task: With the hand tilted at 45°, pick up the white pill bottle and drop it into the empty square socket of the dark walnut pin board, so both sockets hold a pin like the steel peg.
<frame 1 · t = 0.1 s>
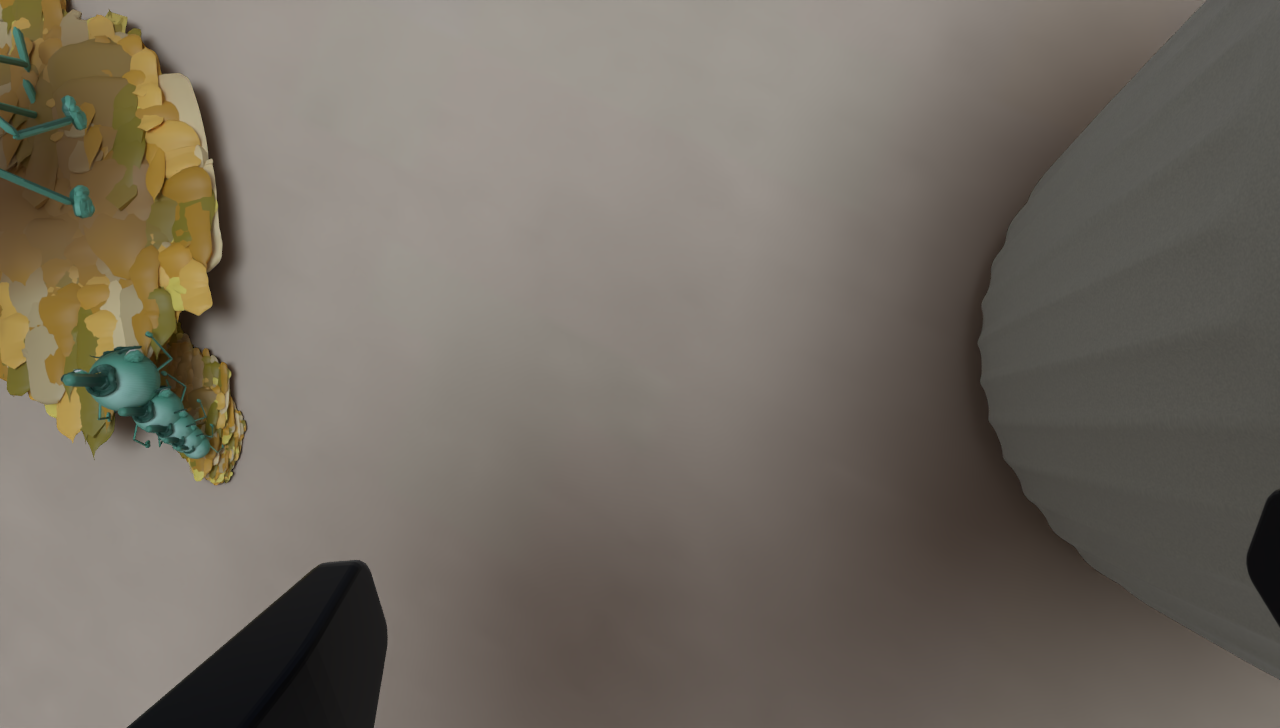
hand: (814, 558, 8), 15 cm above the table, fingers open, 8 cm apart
canister: (1183, 364, 23), on the table, touching gripper
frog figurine: (87, 228, 24), on the table
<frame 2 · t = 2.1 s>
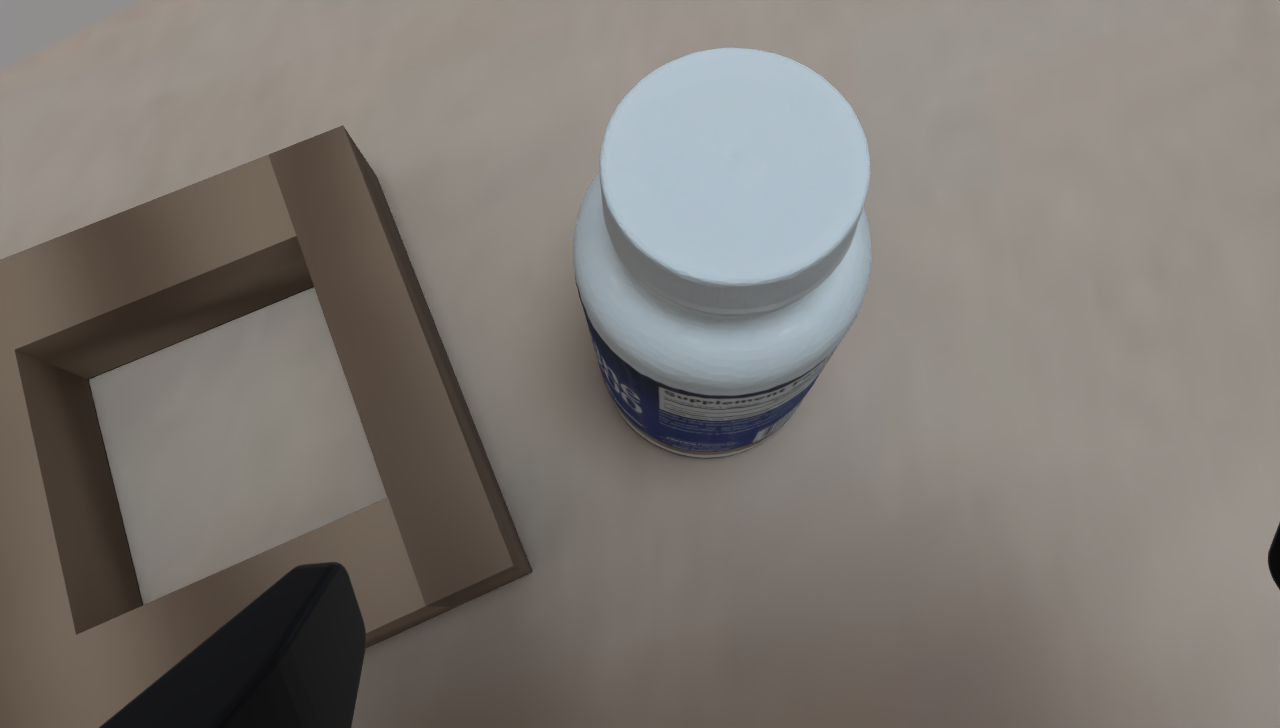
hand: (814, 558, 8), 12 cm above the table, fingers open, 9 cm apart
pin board: (19, 540, 20), on the table
pill bottle: (703, 363, 21), on the table
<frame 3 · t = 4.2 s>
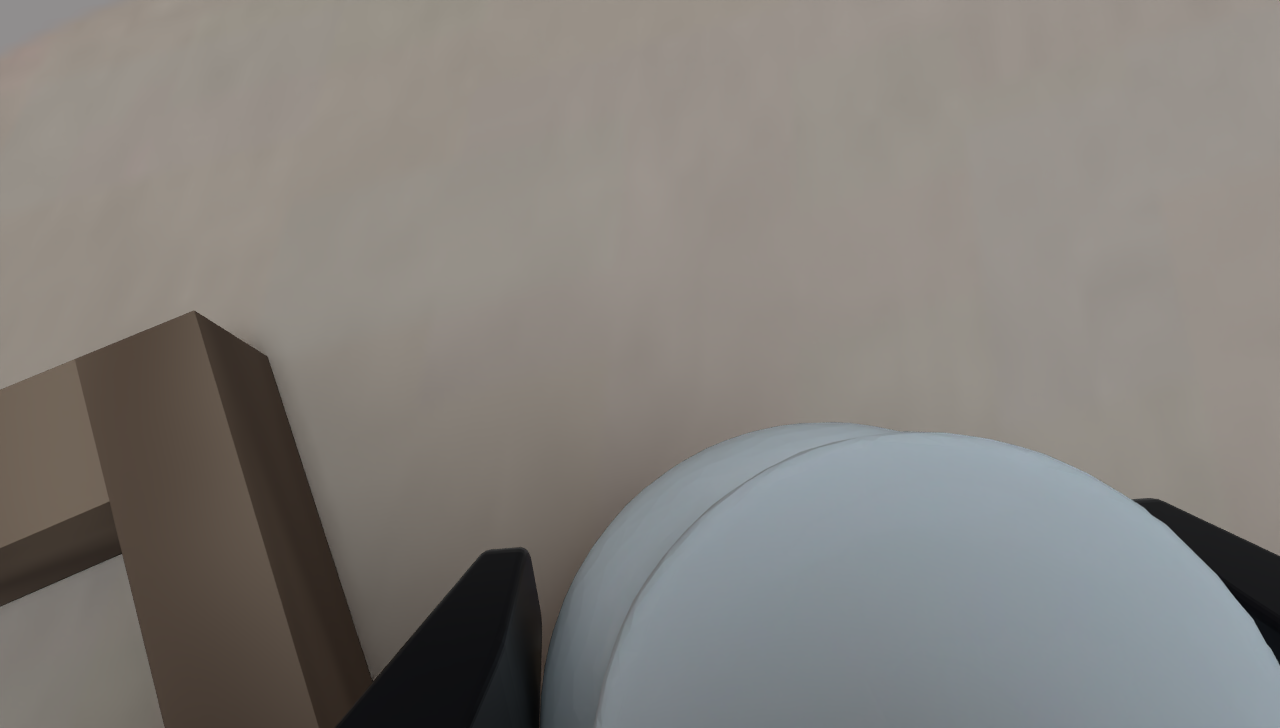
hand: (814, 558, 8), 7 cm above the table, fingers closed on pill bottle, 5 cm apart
pill bottle: (755, 665, 14), on the table, touching gripper
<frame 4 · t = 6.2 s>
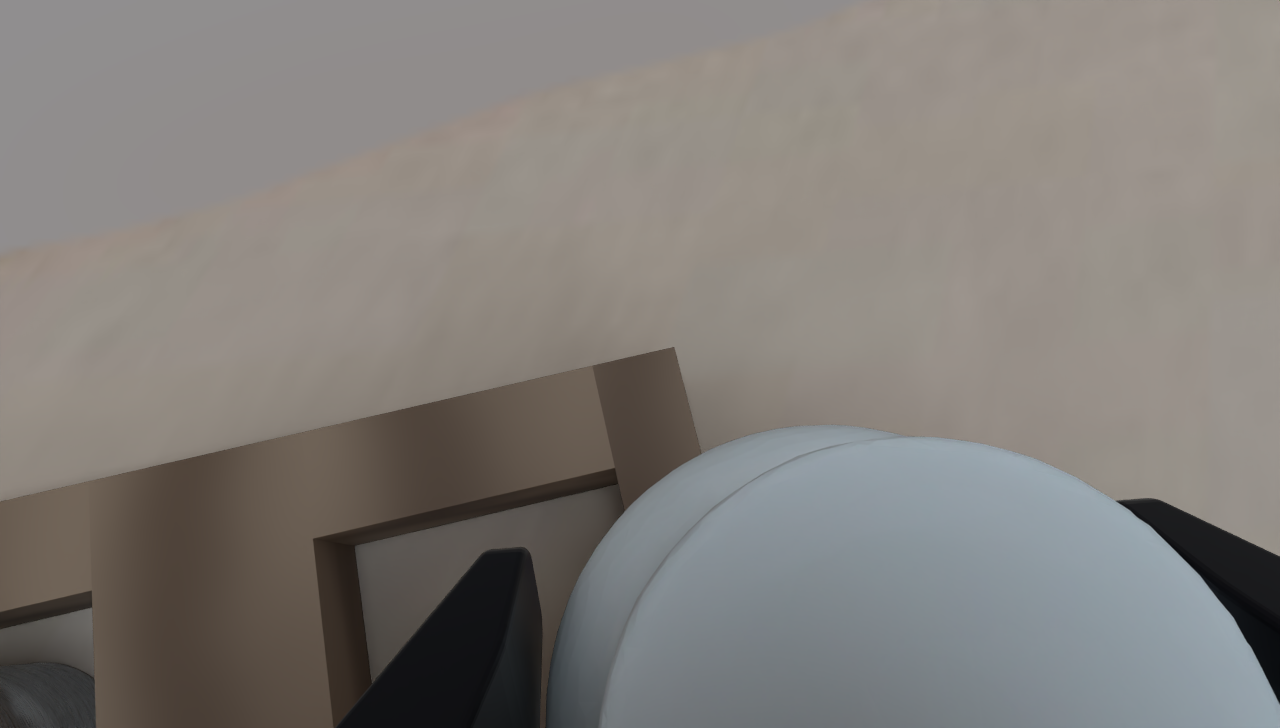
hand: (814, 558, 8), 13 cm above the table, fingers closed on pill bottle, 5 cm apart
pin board: (270, 713, 19), on the table
pill bottle: (756, 662, 14), point 6 cm above the table, touching gripper
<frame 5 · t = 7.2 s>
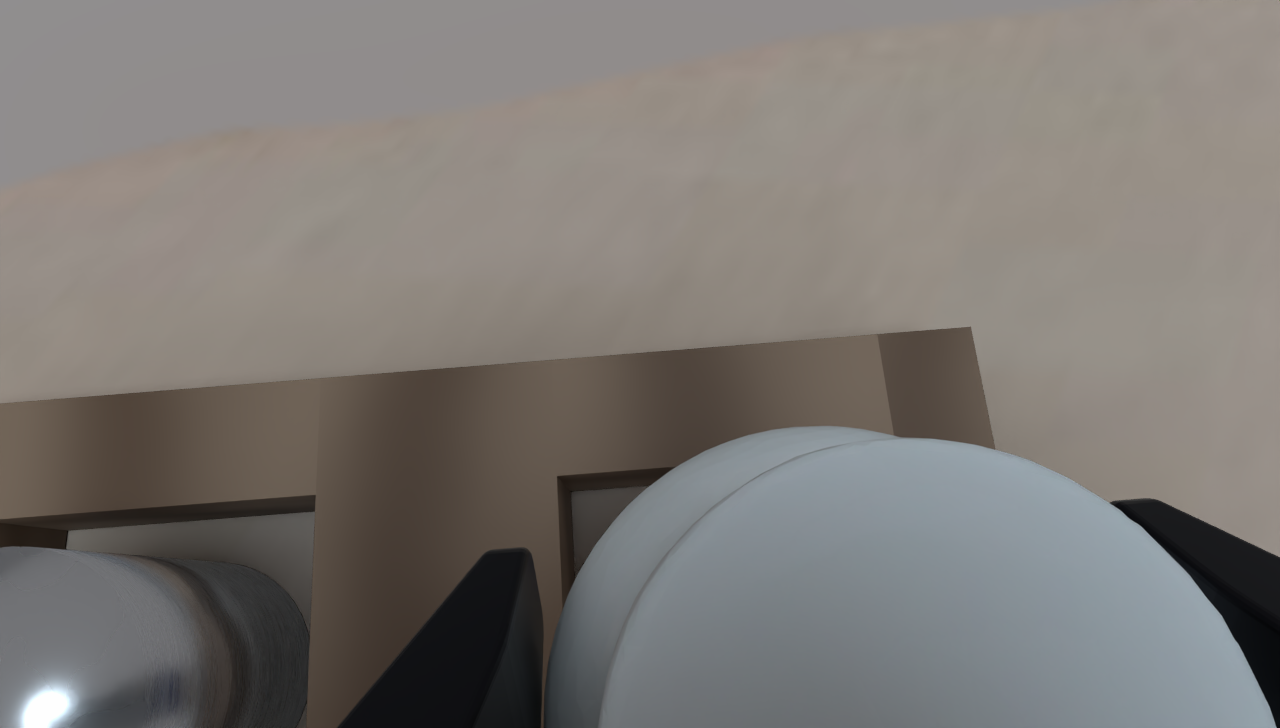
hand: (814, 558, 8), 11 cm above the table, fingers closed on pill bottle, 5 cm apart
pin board: (467, 656, 18), on the table
pill bottle: (750, 662, 14), point 4 cm above the table, touching gripper
steel peg: (201, 676, 18), resting in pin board
when the fingers open (8 cm above the table, at t = 8.1 s): pill bottle drops 1 cm, resting in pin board.
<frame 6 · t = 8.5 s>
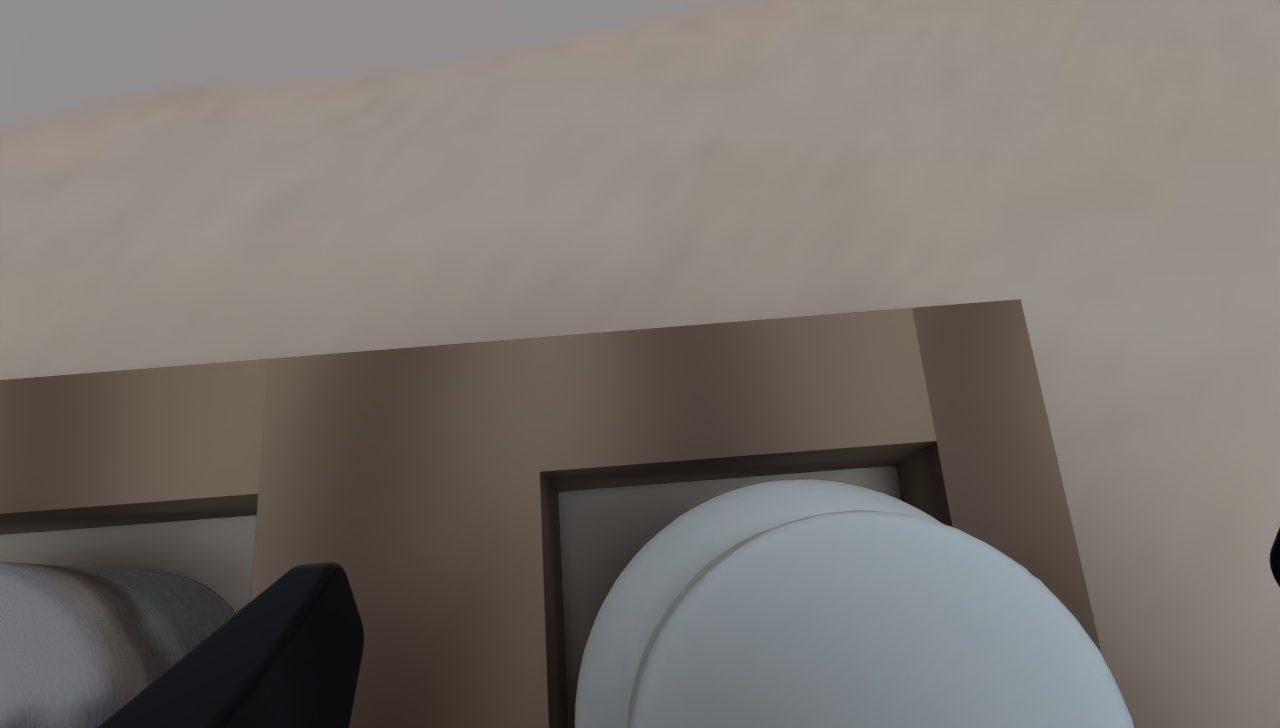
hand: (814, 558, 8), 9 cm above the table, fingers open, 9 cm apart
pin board: (437, 682, 15), on the table
pill bottle: (748, 670, 16), resting in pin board
steel peg: (130, 705, 16), resting in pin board
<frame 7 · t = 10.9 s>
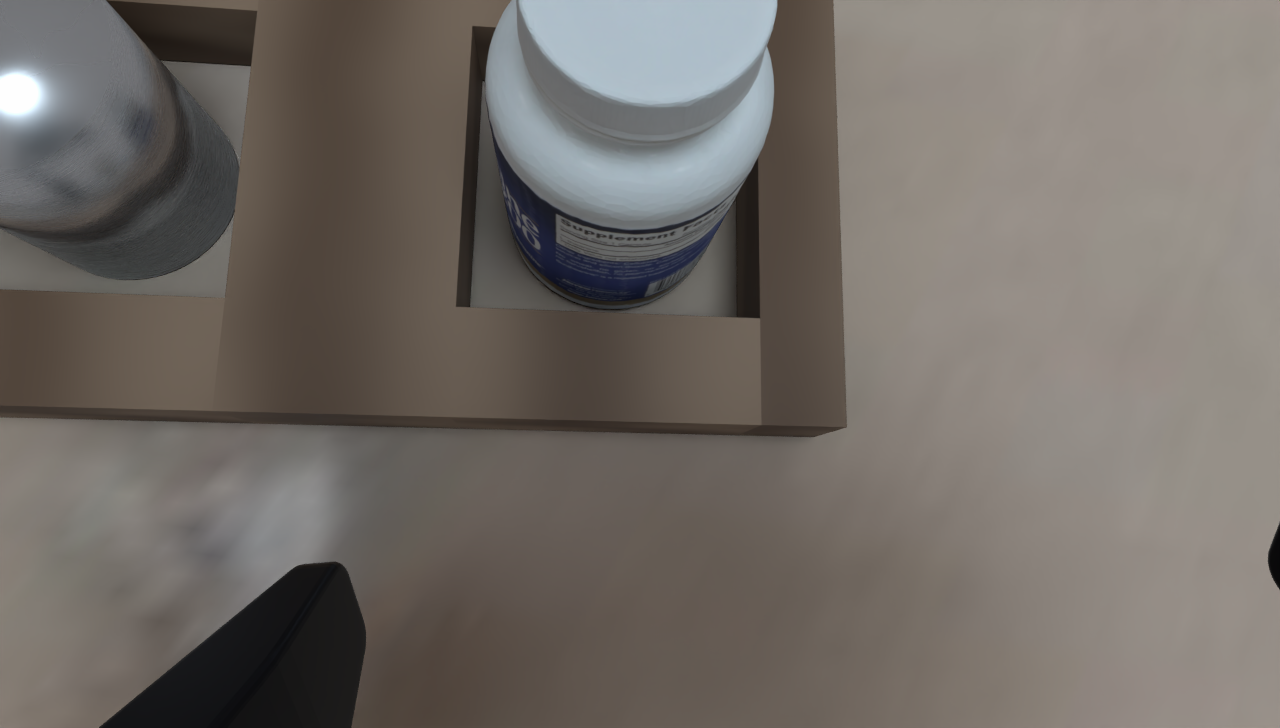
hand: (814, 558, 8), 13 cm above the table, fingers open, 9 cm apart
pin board: (378, 197, 21), on the table
pill bottle: (608, 219, 22), resting in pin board
steel peg: (137, 185, 20), resting in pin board
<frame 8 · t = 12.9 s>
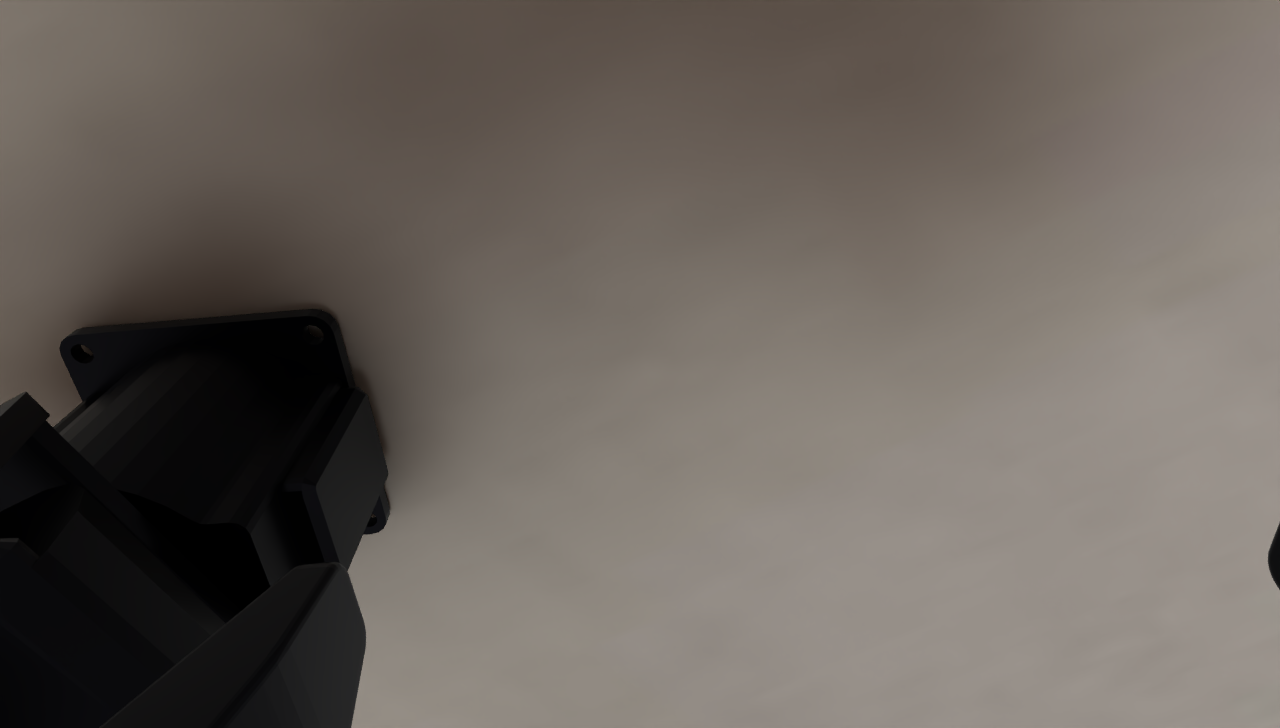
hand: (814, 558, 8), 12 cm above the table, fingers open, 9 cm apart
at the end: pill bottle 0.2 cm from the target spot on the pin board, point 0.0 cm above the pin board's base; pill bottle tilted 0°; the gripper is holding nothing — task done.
